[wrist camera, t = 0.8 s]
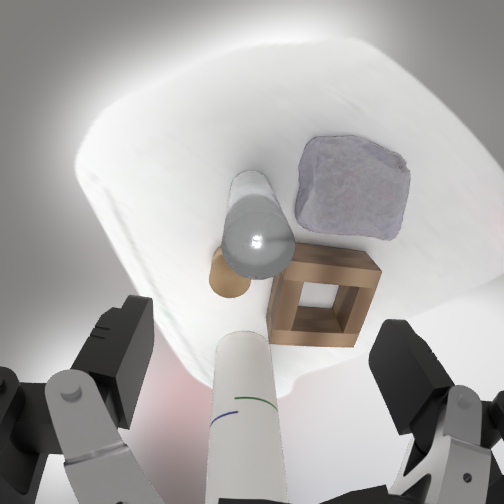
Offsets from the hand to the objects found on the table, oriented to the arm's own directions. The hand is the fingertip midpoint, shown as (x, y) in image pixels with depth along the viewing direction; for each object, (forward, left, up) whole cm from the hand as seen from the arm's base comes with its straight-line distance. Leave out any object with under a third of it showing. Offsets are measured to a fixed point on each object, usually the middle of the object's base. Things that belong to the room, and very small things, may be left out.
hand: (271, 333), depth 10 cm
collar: (-9, +10, -22) cm, 26 cm away
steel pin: (0, 0, -22) cm, 22 cm away
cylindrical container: (-2, +21, -23) cm, 31 cm away
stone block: (-10, -2, -23) cm, 25 cm away
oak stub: (+1, +8, -22) cm, 24 cm away
